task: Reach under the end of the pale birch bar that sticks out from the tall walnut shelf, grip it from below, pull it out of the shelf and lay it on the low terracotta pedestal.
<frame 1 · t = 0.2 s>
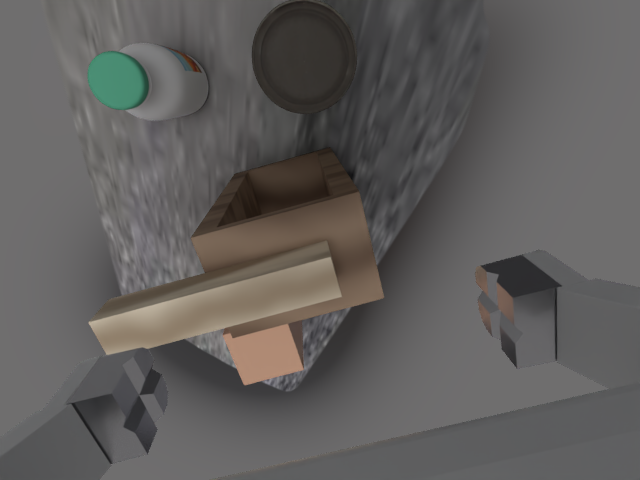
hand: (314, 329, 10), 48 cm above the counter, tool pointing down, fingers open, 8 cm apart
bar: (223, 287, 33), point 26 cm above the counter, touching shelf
coffee can: (301, 66, 51), on the counter
shelf: (292, 193, 57), on the counter
milk bottle: (180, 84, 51), on the counter
pedestal: (270, 294, 63), on the counter
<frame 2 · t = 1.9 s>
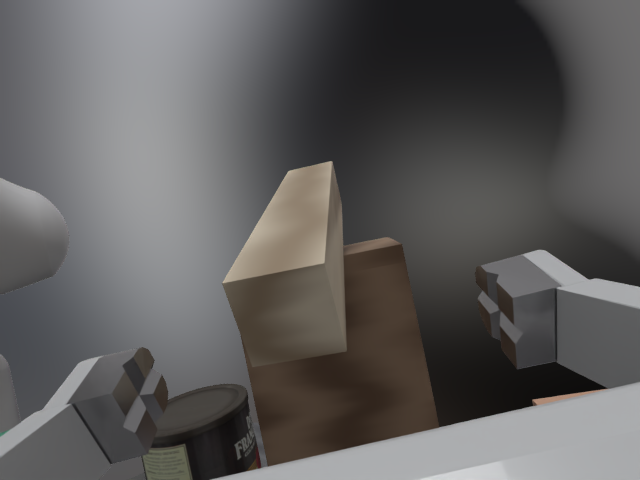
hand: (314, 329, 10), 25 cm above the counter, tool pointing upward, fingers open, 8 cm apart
bar: (313, 254, 23), point 26 cm above the counter, tilted 20°, touching shelf
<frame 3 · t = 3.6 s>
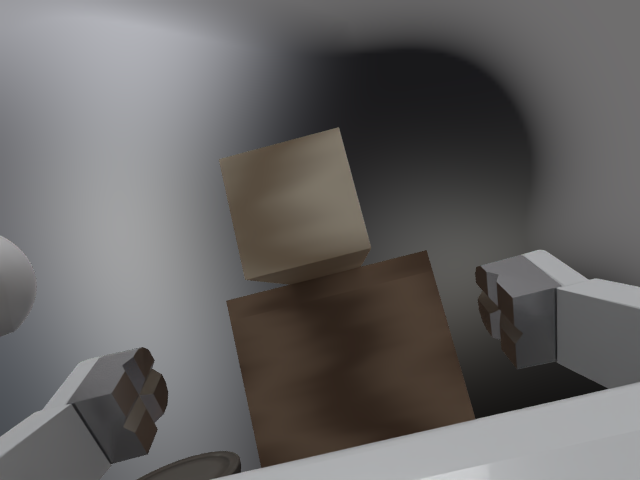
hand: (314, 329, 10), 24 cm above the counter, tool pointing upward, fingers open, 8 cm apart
bar: (326, 276, 20), point 26 cm above the counter, touching shelf
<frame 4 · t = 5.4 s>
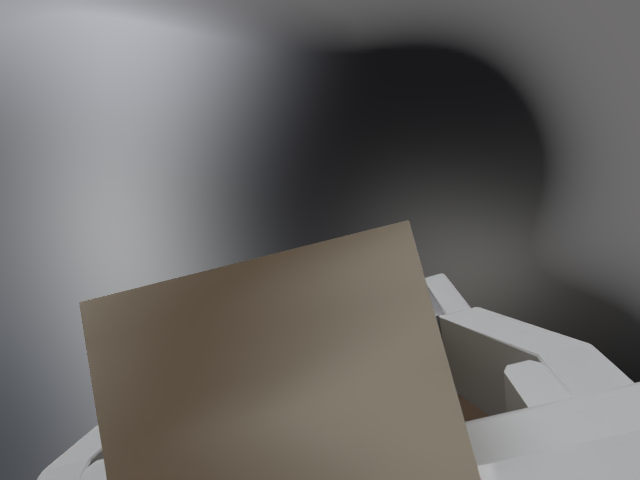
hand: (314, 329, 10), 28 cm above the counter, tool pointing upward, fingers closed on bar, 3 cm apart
bar: (340, 383, 13), point 26 cm above the counter, touching gripper, shelf
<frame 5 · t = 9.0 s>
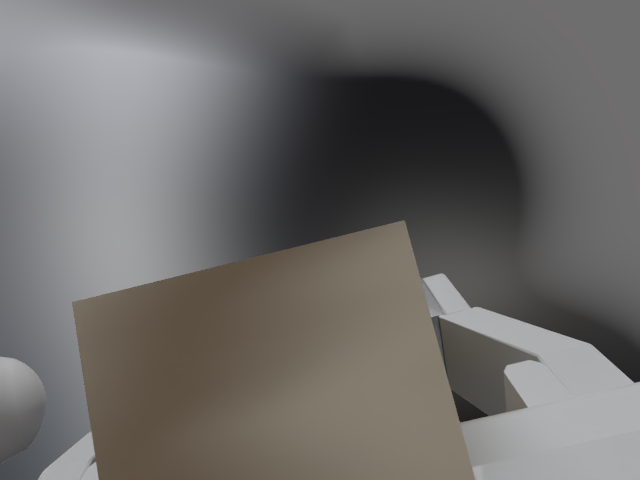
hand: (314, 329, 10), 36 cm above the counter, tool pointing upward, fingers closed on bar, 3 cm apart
bar: (339, 383, 13), point 34 cm above the counter, touching gripper
when the fingers open (19 cm above the counter, at t = 12.3 s): bar drops 2 cm, resting on pedestal.
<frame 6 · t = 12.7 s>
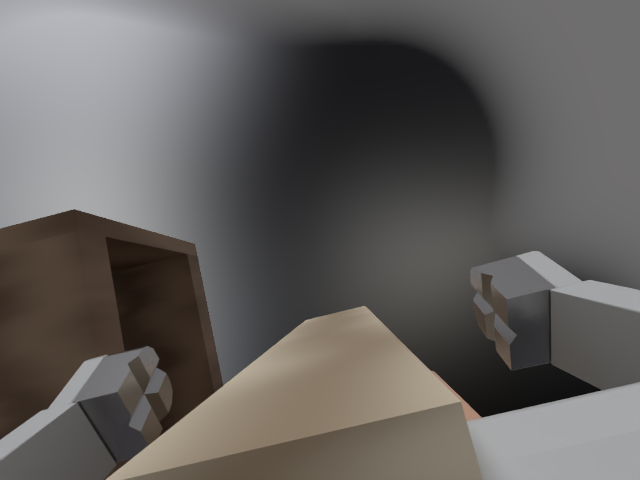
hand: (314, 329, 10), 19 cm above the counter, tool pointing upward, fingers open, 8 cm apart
bar: (352, 439, 13), point 15 cm above the counter, touching pedestal
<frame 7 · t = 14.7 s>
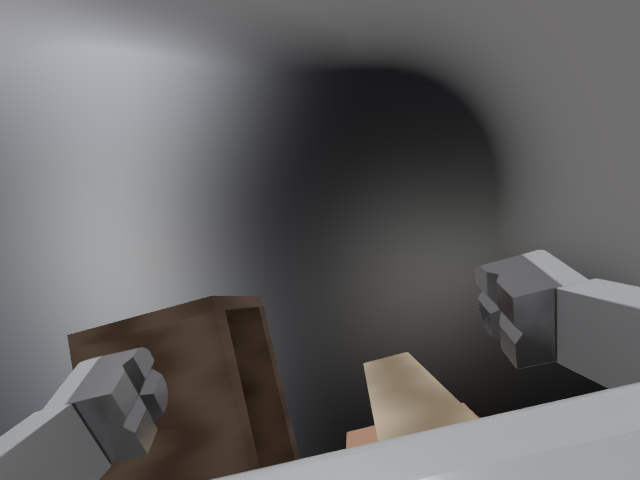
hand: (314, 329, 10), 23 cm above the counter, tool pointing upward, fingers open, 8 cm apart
bar: (420, 453, 20), point 15 cm above the counter, touching pedestal
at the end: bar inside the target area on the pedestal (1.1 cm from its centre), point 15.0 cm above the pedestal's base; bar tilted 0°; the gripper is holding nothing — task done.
